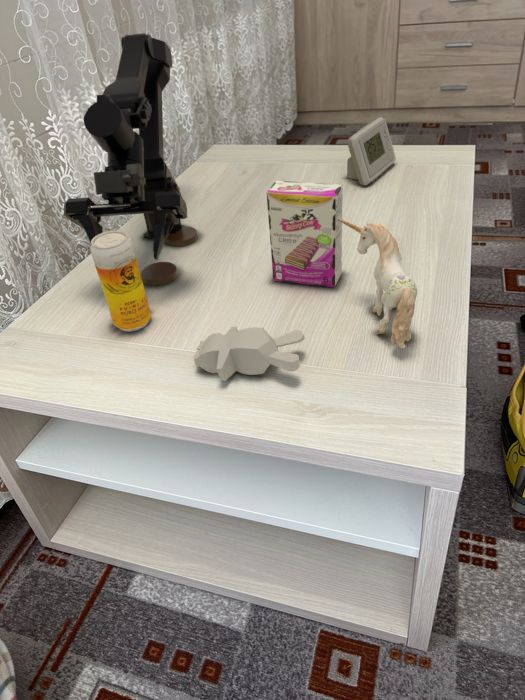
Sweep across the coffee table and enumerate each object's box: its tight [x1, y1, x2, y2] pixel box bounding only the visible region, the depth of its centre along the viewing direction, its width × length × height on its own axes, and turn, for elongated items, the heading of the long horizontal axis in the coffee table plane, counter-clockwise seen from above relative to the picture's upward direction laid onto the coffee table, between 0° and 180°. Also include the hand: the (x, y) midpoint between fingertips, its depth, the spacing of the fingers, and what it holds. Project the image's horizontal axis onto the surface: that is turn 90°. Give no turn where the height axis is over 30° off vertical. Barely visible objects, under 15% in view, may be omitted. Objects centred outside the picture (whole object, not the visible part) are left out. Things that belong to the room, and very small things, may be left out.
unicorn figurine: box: [336, 218, 418, 349], centre depth 80 cm, size 7×20×13 cm, turn 20°
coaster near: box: [140, 261, 178, 287], centre depth 100 cm, size 6×6×1 cm
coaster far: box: [165, 225, 199, 248], centre depth 110 cm, size 6×6×1 cm
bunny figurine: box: [192, 325, 305, 381], centre depth 77 cm, size 10×5×15 cm
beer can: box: [90, 230, 152, 332], centre depth 85 cm, size 6×6×15 cm
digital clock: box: [346, 116, 397, 186], centre depth 125 cm, size 16×9×11 cm, turn 134°
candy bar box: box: [266, 180, 343, 289], centre depth 90 cm, size 11×5×16 cm, turn 71°
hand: (127, 260), depth 88 cm, fingers open, 9 cm apart
